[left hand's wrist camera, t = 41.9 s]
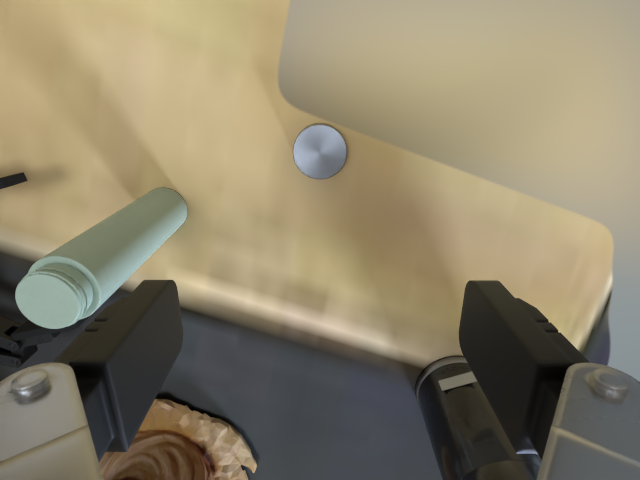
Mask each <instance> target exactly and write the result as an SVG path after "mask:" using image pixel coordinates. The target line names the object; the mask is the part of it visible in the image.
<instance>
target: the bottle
mask: <svg viewBox="0 0 640 480" xmlns="http://www.w3.org/2000/svg"><path fill="white" fill-rule="evenodd" d="M186 217H187V206H186V203H185V201H184V199H183V198H182V197H181V196H180V195H179V194H178V193H177V192H175V191H174V190H171V189H168V188H157V189H154V190H152V191H150V192H149V193H147V194H145V195H144V196H142V197H141V198H139V199H137V200H136V201H134V202H132V203H131V204H129V205H128V206H126V207H124V208H123V209H121V210H119V211H118V212H116V213H115V214H113V215H111V216H110V217H108V218H106V219H105V220H103V221H102V222H100V223H98V224H97V225H95V226H93V227H92V228H90V229H88V230H87V231H85V232H84V233H82V234H80V235H79V236H77V237H75V238H74V239H72V240H71V241H69V242H67V243H66V244H64V245H62V246H61V247H59V248H58V249H56V250H54V251H53V252H51V253H49V254H48V255H46V256H45V257H43V258H41V259H40V260H38V261H37V262H35V263H34V264H33V265H32V267H31V268H30V270H29V272H28V274H27V275H26V276H25V277H24V278H23V279H22V280H21V282H20V283H19V284H18V286H17V288H16V292H15V298H16V303H17V305H18V308H19V309H20V311H21V312H22V313H23V315H24V316H25V317H26V318H28V319H29V320H30V321H32V322H33V323H35V324H37V325H39V326H42V327H45V328H50V329H59V328H64V327H67V326H70V325H72V324H74V323H76V322H77V321H78V320H79V319H83V318H86V317H88V316H90V315H91V314H93V313H94V312H95V311H96V310H97V309H98V308H99V307H100V306H101V305H102V304H103V303H104V302H105V301H106V300H107V299H108V298H109V297H110V296H111V295H112V294H113V293H114V292H115V291H116V290H117V289H118V288H119V287H120V286H121V285H122V284H123V283H124V282H125V281H126V280H127V279H128V278H129V277H130V276H131V275H132V274H133V273H134V272H135V271H136V270H137V269H138V268H139V267H140V266H141V265H142V264H143V263H144V262H145V261H146V260H147V259H148V258H149V257H150V256H151V255H152V254H153V253H154V252H155V251H156V250H157V249H158V248H159V247H160V246H161V245H162V244H163V243H164V242H165V241H166V240H167V239H168V238H169V237H170V236H171V235H172V234H173V233H174V232H175V231H176V230H177V229H178V228H179V227H180V226H181V225H182V224H183V223H184V222H185V220H186Z"/></svg>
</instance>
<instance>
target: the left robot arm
mask: <svg viewBox="0 0 640 480" xmlns="http://www.w3.org/2000/svg"><path fill="white" fill-rule="evenodd" d="M182 342H183V326H182V319H181V312H180V305H179V298H178V291H177V286H176V283H175V282H174V281H173V280H144V281H143V282H141V284H140V285H139V286H138V287H137V288H136V289H135V290H134V291H133V292H132V293H131V295H130V296H129V297H128V298H122V299H120V300H118V301H117V302H115V303H113V304H111V305H110V306H108V307H106V308H105V309H104V310H103V311H102V312H101V313H100V314H99V315H98V316H97V317H96V318H95V321H94V322H92V323H91V324H90V325H89V326H88V327H87V328H86V329H85V332H82V333H81V334H80V335H79V336H78V337H77V338H76V339H75V340H74V341H73V342H72V343H71V344H70V345H69V346H68V347H67V348H66V349H65V350H64V351H63V352H62V353H61V355H60V356H59V357H58V358H57V359H56V360H55V361H54V362H53V363H44V364H39V365H35V366H31V367H28V368H26V369H23V370H21V371H18V372H16V373H14V374H12V375H10V376H9V377H7V378H5V379H4V380H2V381H1V382H0V480H103V477H102V473H101V469H100V466H99V462H100V460H101V459H102V457H103V455H104V454H105V452H127V451H128V449H129V447H130V445H131V443H132V441H133V439H134V438H135V436H136V434H137V432H138V430H139V428H140V426H141V424H142V422H143V421H144V419H145V417H146V415H147V413H148V411H149V409H150V407H151V405H152V404H153V402H154V400H155V398H156V396H157V394H158V392H159V390H160V388H161V387H162V385H163V383H164V381H165V379H166V377H167V375H168V373H169V371H170V370H171V368H172V366H173V364H174V362H175V360H176V358H177V356H178V354H179V352H180V350H181V347H182ZM459 342H460V347H461V350H462V353H463V355H464V357H459V356H457V357H448V358H444V359H441V360H439V361H436V362H435V363H433V364H431V365H430V366H428V367H427V368H426V369H425V370H424V371H423V372H422V373H421V375H420V376H419V378H418V380H417V383H416V387H415V394H416V398H417V401H418V404H419V407H420V408H421V411H422V415H423V418H424V421H425V425H426V428H427V431H428V434H429V437H430V441H431V444H432V447H433V450H434V453H435V456H436V460H437V463H438V466H439V469H440V472H441V476H442V479H443V480H640V382H639V381H638V380H636V379H635V378H633V377H631V376H630V375H628V374H626V373H624V372H622V371H619V370H617V369H614V368H612V367H609V366H605V365H601V364H596V363H590V362H589V361H588V360H587V359H586V358H585V357H584V356H583V355H582V354H581V353H580V352H579V351H578V350H577V349H576V348H575V347H574V346H573V345H572V344H571V343H570V342H569V341H568V340H567V339H566V338H565V337H564V336H563V335H562V334H561V333H558V330H557V329H556V328H555V327H554V326H553V325H552V324H551V323H549V322H548V319H547V318H546V317H545V316H544V315H543V314H542V313H541V312H540V311H539V310H538V309H537V308H535V307H533V306H532V305H530V304H528V303H526V302H525V301H523V300H521V299H519V298H514V297H513V296H512V295H511V293H510V292H509V291H508V290H507V289H506V288H505V287H504V286H503V285H502V284H501V283H500V282H499V281H469V282H468V283H467V285H466V288H465V293H464V300H463V307H462V314H461V321H460V327H459ZM536 454H539V456H540V458H541V459H542V462H541V461H540V460H539V458H538V456H537V455H536Z"/></svg>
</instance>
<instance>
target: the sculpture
mask: <svg viewBox="0 0 640 480" xmlns="http://www.w3.org/2000/svg"><path fill="white" fill-rule="evenodd" d="M241 465H244V466H246V467H248V468H249V469H250V470H251V471H252V472H253V473H254V472H255V469H256V467H257V464H256V461H255V459H254V458H253V456H252V453H251V450H250V448H249V446H248V445H247V443H246V441H245V440H244V438H243V437H242V435H241V434H240V433H239V432H237V431H236V430H235V429H234V428H233V427H232V426H231V425H230V424H228V423H226V422H224V421H222V420H221V419H219V418H214V417H211V418H210V417H209V416H208V415H207V414H206V413H205V414H201V413H199V412H197V411H195V410H194V411H191V410H190V409H189V408H188V406H187V405H185V406H183V405H181V404H177V403H175V402H173V401H171V400H167V399H155V400H154V402H153V404H152V405H151V407H150V409H149V411H148V413H147V415H146V417H145V419H144V421H143V422H142V424H141V426H140V428H139V430H138V432H137V434H136V436H135V438H134V439H133V441H132V443H131V445H130V447H129V449H128V451H127V452H105V454H104V455H103V457H102V459H101V460H100V462H99V466H100V469H101V473H102V477H103V480H248V477H247V474H246V471H245V470H244V471H243V470H242V468H241Z"/></svg>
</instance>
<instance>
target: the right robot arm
mask: <svg viewBox="0 0 640 480" xmlns="http://www.w3.org/2000/svg"><path fill="white" fill-rule="evenodd" d="M25 181H27V179H26V177H25V175H24V173H19V174H15V175H11V176H7V177H2V178H0V189H3V188H6V187H9V186H12V185H16V184H19V183H22V182H25ZM88 317H89V316H88ZM88 317H86V318H83V319H79V320H78V321H77V322H76V323H74V324H72V325H70V326H67V327H64V328H59V329H50V328H45V327H42V326H39V325H37V324H35V323H33V322H32V321H30V320H28V321H27V322H25V323H24V324H21V323H18V322H16V321H13V320H10V319H8V318H5V317H3V316H0V365H4V366H9V367H15V368H18V367H20V366H21V365H22V364H23V363H24V362H25V361H27V360H28V359H29V358H30V357H31V356H32V355H33V354H34V353H35V352H36V351H37V349H38V348H37V346H36V345H37V344H42V343H46V342H50V341H52V340H53V339H54V338H55V337H56V336H57V335H59V334H60V333H61V332H62V331H65V330H70V329H74V328H78V327H79V326H80V325H81V324H82V323H83V322H84V321H85V320H86V319H87V318H88Z"/></svg>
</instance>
